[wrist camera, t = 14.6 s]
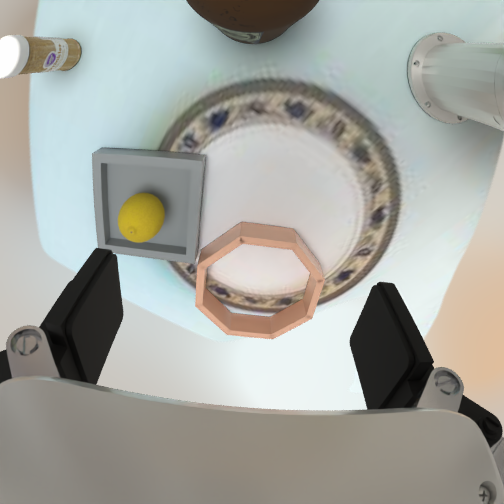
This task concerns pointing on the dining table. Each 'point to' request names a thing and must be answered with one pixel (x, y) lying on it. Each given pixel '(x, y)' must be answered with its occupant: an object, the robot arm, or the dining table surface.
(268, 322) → the terracotta ring
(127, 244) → the grey tray
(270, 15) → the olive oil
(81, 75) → the dining table surface
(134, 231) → the lemon
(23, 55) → the sprinkles bottle
